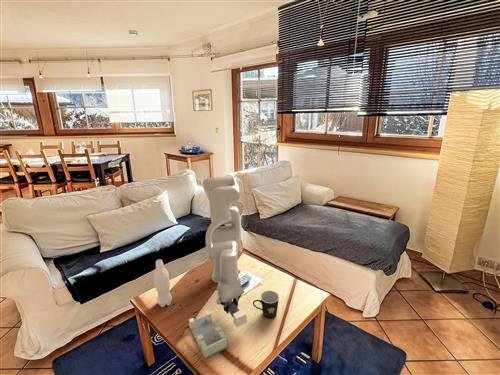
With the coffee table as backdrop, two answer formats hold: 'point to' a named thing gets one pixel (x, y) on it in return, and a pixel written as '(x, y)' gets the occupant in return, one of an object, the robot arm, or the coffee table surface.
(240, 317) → the grey rounded bar
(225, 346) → the board
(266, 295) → the coffee mug
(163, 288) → the water bottle
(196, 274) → the coffee table surface
